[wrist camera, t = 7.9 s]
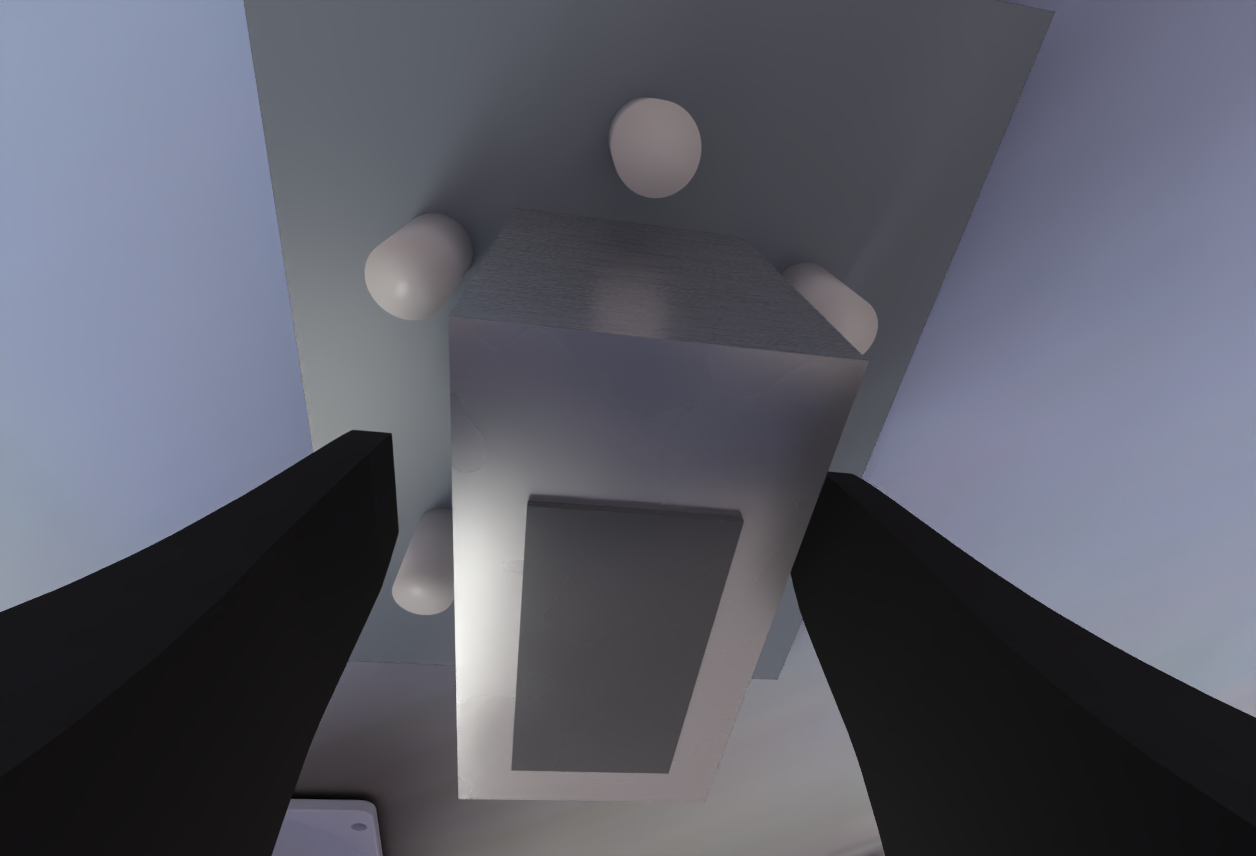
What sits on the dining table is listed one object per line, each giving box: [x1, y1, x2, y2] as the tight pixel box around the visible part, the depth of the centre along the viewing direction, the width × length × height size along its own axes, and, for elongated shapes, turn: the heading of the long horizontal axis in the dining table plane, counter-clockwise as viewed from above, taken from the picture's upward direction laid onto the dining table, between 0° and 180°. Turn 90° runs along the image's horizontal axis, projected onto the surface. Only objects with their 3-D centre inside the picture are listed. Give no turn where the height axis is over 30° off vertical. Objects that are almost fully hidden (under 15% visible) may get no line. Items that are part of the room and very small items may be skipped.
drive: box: [449, 207, 869, 802], centre depth 10 cm, size 8×4×6 cm, turn 172°
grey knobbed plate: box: [244, 0, 1055, 680], centre depth 12 cm, size 16×12×3 cm
